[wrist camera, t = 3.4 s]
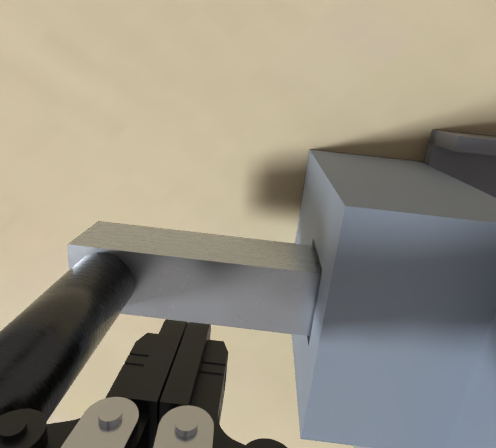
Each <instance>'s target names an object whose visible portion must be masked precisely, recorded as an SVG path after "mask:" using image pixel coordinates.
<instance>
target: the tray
mask: <svg viewBox="0 0 496 448" xmlns="http://www.w3.org/2000/svg"><path fill="white" fill-rule="evenodd" d="M424 164H427V165H429V166H431V167H433V168H435V169H437V170H439V171H441V172H443V173H445V174H447V175H449V176H451V177H454V178H456V179H458V180H460V181H462V182H464V183H466V184H468V185H470V186H472V187H474V188H476V189H478V190H480V191H483V192H485V193H487V194H489V195H491V196H493V197H495V198H496V136H487V135H478V134H469V133H460V132H450V131H441V130H432V132H431V136H430V140H429V144H428V148H427V152H426V156H425V160H424Z"/></svg>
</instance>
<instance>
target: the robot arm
mask: <svg viewBox="0 0 496 448" xmlns="http://www.w3.org/2000/svg"><path fill="white" fill-rule="evenodd" d="M210 331H211V325H210V324H203V323H194V322H189V323H188V322H185V321H176V320H167V319H166V320H165V322H164V324H163V326H162V328H161V330H160V332H159V334H153V333H147V334H145V335H144V336H143V337H141V338H140V339H139V340H138V341H136V343H135V345H134V346H133V348H132V350H131V352H130V355H129V356H128V357H127V359H126V361H125V364H124V365H123V367H122V369H121V370H120V372H119V374H118V376H117V378H116V380H115V381H114V383H113V385H112V387H111V389H110V391H109V393H108V394H107V396H106V398H105V399H102V400H100V401H98V402H96V403H94V404H93V405H91V406H90V407H89V408H88V409H87V410H86V411H85V413H84V414H83V416H82V417H81V418H79V419H76V420H72V421H66V422H59V423H53V424H46V418H45V416H44V415H43V414H42V413H41V412H39V411H37V410H34V409H18V410H13V411H10V412H7V413H5V414H3V415H1V416H0V448H287V447H286V446H285V445H283V444H282V443H280V442H278V441H275V440H272V439H257V440H253V441H251V442H249V443H248V444H247V445H244V444H241V443H239V442H237V441H235V440H233V439H231V438H230V437H229V436H227V435H226V434H225V433H224V431H223V430H222V429H221V427H220V425H219V423H220V416H221V410H222V403H223V398H224V391H225V382H226V371H227V360H228V351H227V348H226V346H225V344H224V342H223V341H215V340H210Z"/></svg>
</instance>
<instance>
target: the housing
mask: <svg viewBox="0 0 496 448" xmlns="http://www.w3.org/2000/svg"><path fill="white" fill-rule="evenodd" d="M295 244H303V245H311V246H316V250H317V253H318V257H319V260H320V264H321V267H322V275H321V280H320V286H319V291H318V297H317V302H316V308H315V313H314V319H313V324H312V330H311V335H310V336H304V335H296V334H292V340H293V352H294V364H295V376H296V389H297V401H298V413H299V425H300V437H301V439H306V440H314V441H322V442H330V443H338V444H346V445H354V446H362V447H370V448H496V198H495V197H493V196H491V195H489V194H487V193H485V192H483V191H480V190H478V189H476V188H474V187H472V186H470V185H468V184H466V183H464V182H462V181H460V180H458V179H456V178H454V177H451V176H449V175H447V174H445V173H443V172H441V171H439V170H437V169H435V168H433V167H431V166H429V165H427V164H424V163H422V162H419V161H410V160H400V159H391V158H382V157H373V156H364V155H355V154H345V153H336V152H327V151H318V150H309V156H308V163H307V169H306V176H305V183H304V189H303V196H302V202H301V209H300V216H299V222H298V229H297V235H296V242H295Z"/></svg>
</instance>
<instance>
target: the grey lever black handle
mask: <svg viewBox="0 0 496 448" xmlns="http://www.w3.org/2000/svg"><path fill="white" fill-rule="evenodd" d="M68 261H69V271H68V272H67V273H66V274H64V275H63V276H62V277H61V278H60V279H59V280H58V281H57V282H55V283H54V284H53V285H52V286H51V287H50V288H49V289H48V290H46V291H45V292H44V293H43V294H42V295H41V296H40V297H39V298H38V299H36V300H35V301H34V302H33V303H32V304H31V305H30V306H29V307H27V308H26V309H25V310H24V311H23V312H22V313H21V314H20V315H18V316H17V317H16V318H15V319H14V320H13V321H12V322H11V323H9V324H8V325H7V326H6V327H5V328H4V329H3V330H2V331H0V416H1V415H3V414H5V413H7V412H10V411H13V410H18V409H34V410H37V411H39V412H41V413H42V414H43V415H44V416H45V418H46V422H47V420H48V419H49V417H50V416H51V414H52V413H53V411H54V410H55V408H56V407H57V405H58V404H59V402H60V401H61V399H62V398H63V396H64V395H65V394H66V392H67V391H68V389H69V388H70V386H71V385H72V383H73V382H74V380H75V379H76V377H77V376H78V374H79V373H80V371H81V370H82V368H83V367H84V366H85V364H86V363H87V361H88V360H89V358H90V357H91V355H92V354H93V352H94V351H95V349H96V348H97V346H98V345H99V343H100V342H101V340H102V339H103V338H104V336H105V335H106V333H107V332H108V330H109V329H110V327H111V326H112V324H113V323H114V321H115V320H116V318H117V317H118V315H119V314H128V315H137V316H145V317H154V318H162V319H170V320H179V321H187V322H195V323H204V324H212V325H220V326H229V327H237V328H246V329H254V330H262V331H271V332H279V333H287V334H296V335H304V336H310V335H311V330H312V324H313V319H314V313H315V308H316V302H317V297H318V291H319V286H320V280H321V275H322V267H321V264H320V260H319V257H318V253H317V250H316V246H311V245H303V244H294V243H285V242H276V241H268V240H259V239H250V238H242V237H233V236H224V235H215V234H207V233H198V232H189V231H180V230H172V229H163V228H154V227H146V226H137V225H128V224H119V223H111V222H102V221H98V222H96V223H95V224H94V225H92V226H91V227H90V228H88V229H87V230H86V231H85V232H83V233H82V234H81V235H79V236H78V237H77V238H75V239H74V240H73V241H71V242H70V243H69V244H68Z"/></svg>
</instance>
